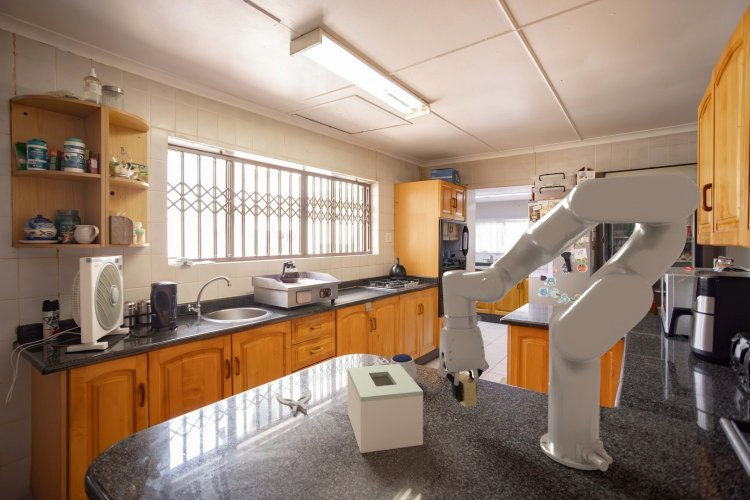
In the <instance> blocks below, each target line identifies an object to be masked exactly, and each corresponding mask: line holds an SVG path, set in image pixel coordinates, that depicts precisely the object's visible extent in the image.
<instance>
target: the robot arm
mask: <svg viewBox="0 0 750 500" xmlns="http://www.w3.org/2000/svg"><path fill="white" fill-rule="evenodd" d="M701 199H702V193H701V189H700V187H699V186H698V184H697V183H696V182H695V181H694V180H692V179H691V178H690V177H688V176H687V175H686V176H685V175H682V174H679V173H656V174H645V175H644V174H643V175H630V176H626V175H625V176H615V177H614V176H613V177H609V176H608V177H598V178H597V177H596V178H588V179H586V180H582V181H581V182H579V183H577V184H576V185H575V186H573V188H572V189H571V190H570V193H568V194H567V195H566V196H565V197H564V198H562V199H561V200H560V201H559V202H557V204H556V205H554V206H553V207H551V209H550V210H549V211H547V212H546V213H545V214H543V215H542V216H541V217H540V218H539V219H538V220H537V221H535V222H534V223H533V224H532V225H531V226H529V227H528V228H527V229H526V230H525V231H524V232H523V234H521V236H520V238H519V239H518V240H517V241H516V243H514V245H512V246H511V247H510V249H508V250H507V251H506V252H505V253H504V254H503V255H502V256H500V257H499V258H498V259H497V260H495V261H494V262H493V263H492V264H491V265H490V266H489V267H487V268H485V269H484V270H479V271H472V270H468V269H466V270H464V269H455V270H454V269H453V270H447V271H445V272H443V274H442V280H441V281H442V282H441V283H442V295H443V296H442V297H443V313H444V315H443V317H444V327H442V328H441V330H440V339H439V366H438V368H437V370H436V374H437V375H439V376H440V377H443V378H446V379H447V380H448V381H450V383H451V389H452V390H451V393H452V397H453V398H454V399H455V400H456V401H457V402H458V403H460V402H462V391H461V385H460V384H459V374H460V372H466V371H467V376H468V377H470V378H471V379H472V380H474V381H475V382H476V394H477V395H478V385H477V383H478V382H479V381H480V379H479V378H480V377H481V376H482V375H483V374H484V373H485V372H486V371H487V370H488V369H490V365H489V363H488V361H487V360H486V352H485V346H484V340H483V336H482V331H481V327H480V326H478V325H479V323H478V322H480V321H482V316H481V315H480V314H479V315H478V313H477V302H480V303H484V304H495V303H499V302H500V301H502V300H503V299H504V298H505V296H507V294H508V293H509V291H512V290H513V288H515V286H518V284H520V283H521V282H522V281H524V280H525V279H526V278H527V277H529V276H530V275H531V274H532V273H533V272H535V271H537V270H538V269H539V268H541V267H543V266H545V265H547V264H550V263H551V262H553V261H554V260H555V259H557V258H558V257H559V256H561V255H562V254H563V253H565V252H566V251H567V250H568V249H569V248H571V247H572V246H574V244H575V243H578V241H579V240H581V239H582V238H583V237H585V236H586V235H587V234H589V232H591V231H592V230H593V229H595V228H596V227H597V226H598V225H600V224H634V227H633V232H632V234H631V235H630V236H629V238H628V239H627V240H626V241H625V242H624V244H623V245H622V246H621V247H620V248H619V249H618V250H617V251H616V252H615V254H613V255H612V256H611V257H610V258H609V259H608V260H607V261H606V262H604V264H603V265H602V266H601V267H600V268H599V269H598V270H596V271H595V272H594V273H593V274H592V275H591V276H590V278H589V280H588V281H587V283H586V284H587V285H586V290H585V291H584V292H583V293H582V294H581V295H580V296H579V297H578V298H577V299H576V300H575V301H574V302H572V303H565V304H562V305H560V306H559V307H557V308H556V309H554V310H553V312H552V314H551V315H550V318H549V321H548V322H549V323H548V354H549V355H548V401H547V402H548V405H547V407H548V409H547V411H548V413H547V432H546V433H545V434H543V435H542V436H541V437H540V438H539V439H540V440H539V447H540V449H541V451H542V452H543V453H544V454H545V455H546V456H547V457H549V459H552V460H553V461H555V462H557V463H559V464H560V465H564V466H566V467H569V468H573V469H577V470H584V471H585V470H586V471H596V470H600V471H602V472H606V471H608V469H609V465H612V463H613V462H614V458H612V456H610V455H609V454H608V453H607V451H606V450H605V449H604V442H603V441H602V440H600V399H601V398H600V397H601V396H600V394H601V392H600V391H601V357H602V356H604V354H606V353H607V352H608V351H610V349H612V348H613V347H614V346H615V345H616V344H617V343H618V342H619V341H621V339H622V338H624V337H625V336H626V335H627V334H628V333H629V332H630V331H632V329H633V328H634V327H636V326H637V325H638V324H639V323H640V322H641V321H642V320H643V319H644V318H645V317H646V316H647V314H648V313H649V311H650V310H651V307H652V305H653V303H654V291H653V285H654V284H656V282H658V281H659V279H661V278H662V276H664V274H665V273H666V272H667V271H668V270H670V268H671V267H672V266H673V265H674V264H675V263H676V261H677V260H678V259H679V257H681V254H682V253H683V251H684V248H685V247H686V246H685V245H686V243H687V238H688V224H687V223H688V221H687V218H688V217H690V216H691V215H692V214H694V213H695V211H696V210H697V209H698V208H699V205H700V203H701Z"/></svg>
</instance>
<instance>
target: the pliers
mask: <svg viewBox="0 0 750 500" xmlns="http://www.w3.org/2000/svg"><path fill="white" fill-rule="evenodd" d="M311 396H312V391H311V389H310V388H306V395H303V396H301V397H299V398H298V399H297V400H296V401H295V399H291V398H284V397H281V395H280V394H279V392H276V396H275V397H276V400H277V401H278V402H279V403H281V404H282V405H285V406H289V407H291V408H292V415H293V416H296V415H297V411H298V410H299V411H301V412H302V413H303V414H304V415H305V414H307V413H308V409H307V406H306V405H305V404H306V403H307V402H308V401H309V400H310V399H311Z"/></svg>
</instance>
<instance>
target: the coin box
mask: <svg viewBox="0 0 750 500" xmlns="http://www.w3.org/2000/svg"><path fill="white" fill-rule="evenodd" d="M347 415H348V418H349V421H350V424H351V428H352V430H353V434H354V436H355V440H356V443H357V446H358V449H359V453H360V454H363V453H372V452H380V451H385V450H386V451H387V450H394V449H401V448H408V447H415V446H416V447H417V446H423V444H424V390H423V389H422V388H421V387H420V386H419V385H418V384H417V382H416V381H415V379H414V380H413V379H412V378H411V377H410V375H409V374H408V373H407V372H406V371H405V370H404V369H403V367H402V366H401V365H400V364H391V365H378V366H367V365H366V366H356V367H347Z"/></svg>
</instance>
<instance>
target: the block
mask: <svg viewBox="0 0 750 500" xmlns="http://www.w3.org/2000/svg"><path fill="white" fill-rule="evenodd" d="M459 384H460V385H461V391H462V402H459V403H460V404H461V406H463V407H464V408H470V407H476V406H478V399H477V398H478V396H477V395H478V393H477V394H476V382H475V381H474V380H472V379H471V378H470V377H469V376H468V374H467V375H466V374H465V373H459Z"/></svg>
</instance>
